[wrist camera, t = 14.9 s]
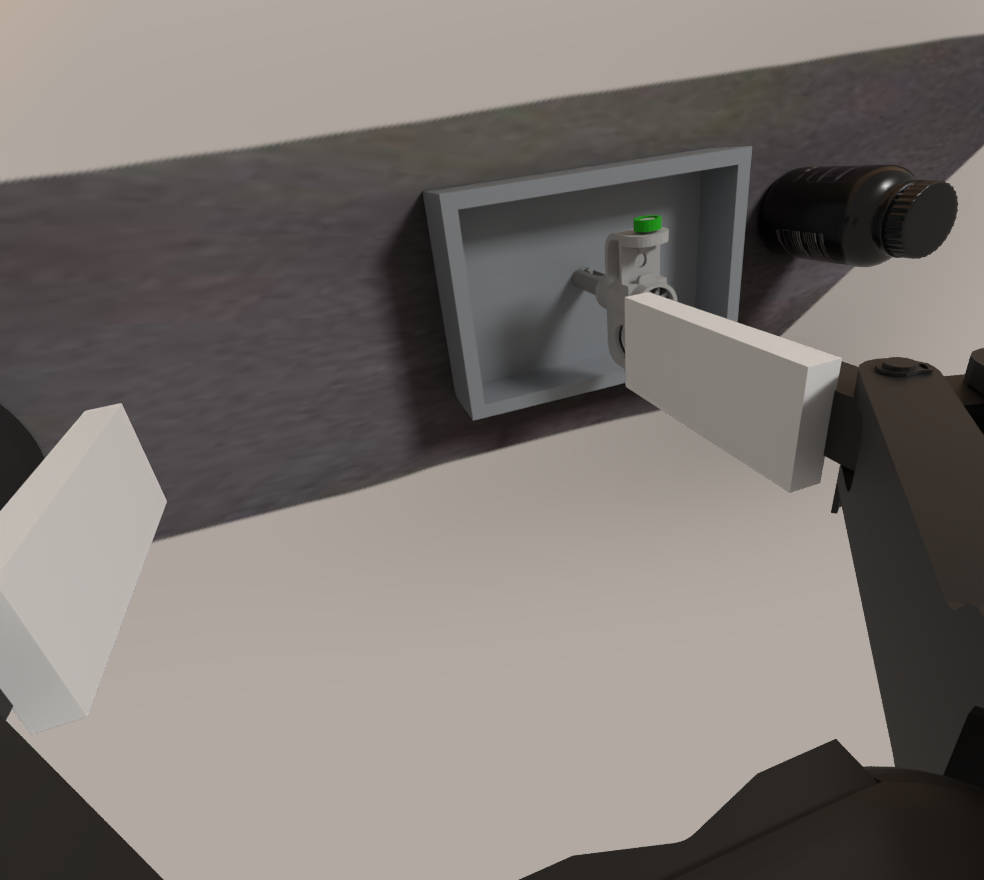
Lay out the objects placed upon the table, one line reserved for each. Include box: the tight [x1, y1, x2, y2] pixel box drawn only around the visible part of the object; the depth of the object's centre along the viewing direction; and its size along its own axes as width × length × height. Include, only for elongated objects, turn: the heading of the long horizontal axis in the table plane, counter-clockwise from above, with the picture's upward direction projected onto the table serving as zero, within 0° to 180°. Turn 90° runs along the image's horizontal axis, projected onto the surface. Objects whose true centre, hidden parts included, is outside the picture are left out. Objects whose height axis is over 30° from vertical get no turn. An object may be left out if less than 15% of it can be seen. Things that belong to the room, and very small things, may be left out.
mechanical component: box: [572, 215, 677, 371], centre depth 39 cm, size 3×10×10 cm, turn 10°
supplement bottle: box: [759, 165, 958, 267], centre depth 42 cm, size 7×7×12 cm
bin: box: [422, 146, 752, 421], centre depth 42 cm, size 22×15×5 cm
